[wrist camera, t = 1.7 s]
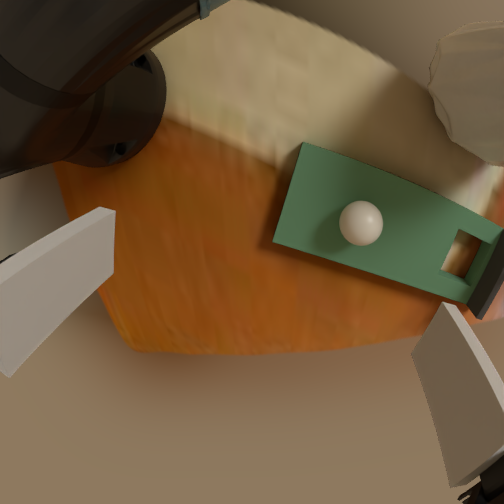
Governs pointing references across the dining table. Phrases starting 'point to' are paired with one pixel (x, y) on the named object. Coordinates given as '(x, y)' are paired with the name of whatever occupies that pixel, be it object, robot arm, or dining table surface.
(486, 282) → the green
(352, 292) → the dining table surface
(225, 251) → the dining table surface
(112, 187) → the dining table surface
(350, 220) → the ball
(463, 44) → the vase
